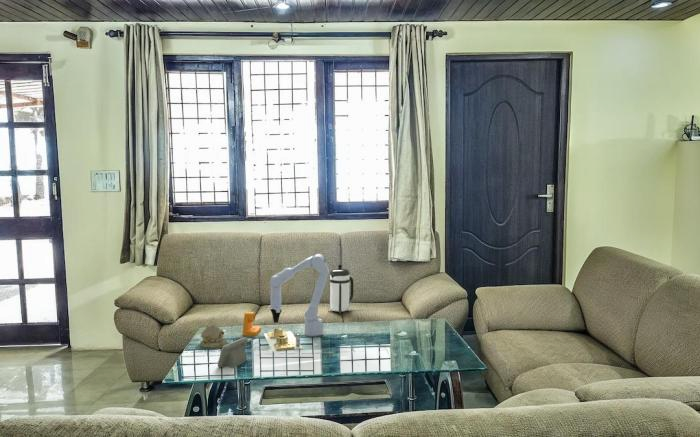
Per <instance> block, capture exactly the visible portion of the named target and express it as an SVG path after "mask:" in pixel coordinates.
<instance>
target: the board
mask: <svg viewBox="0 0 700 437" xmlns="http://www.w3.org/2000/svg"><path fill="white" fill-rule="evenodd" d="M285 332H286V334H287V336H288V342H292V344H293V345H294V347H295V349H294V350H299V349H303V347H302V345H301V344H300V346H298V347H297V346H296V335H294V333H293V332H292V330H289V331H285ZM263 335H264V337H265V339H266V342H267V343H268V345H269V348H270V349H271V351H272V352H277V351H276V349H275V347H274V344H275V343H276V338H270V337H269V335H268V332H267V333H266V332H265V333H263ZM289 350H291V351H292V349H288V350H287V351H289ZM279 351H282V350H279ZM279 351H278V352H279Z"/></svg>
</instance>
